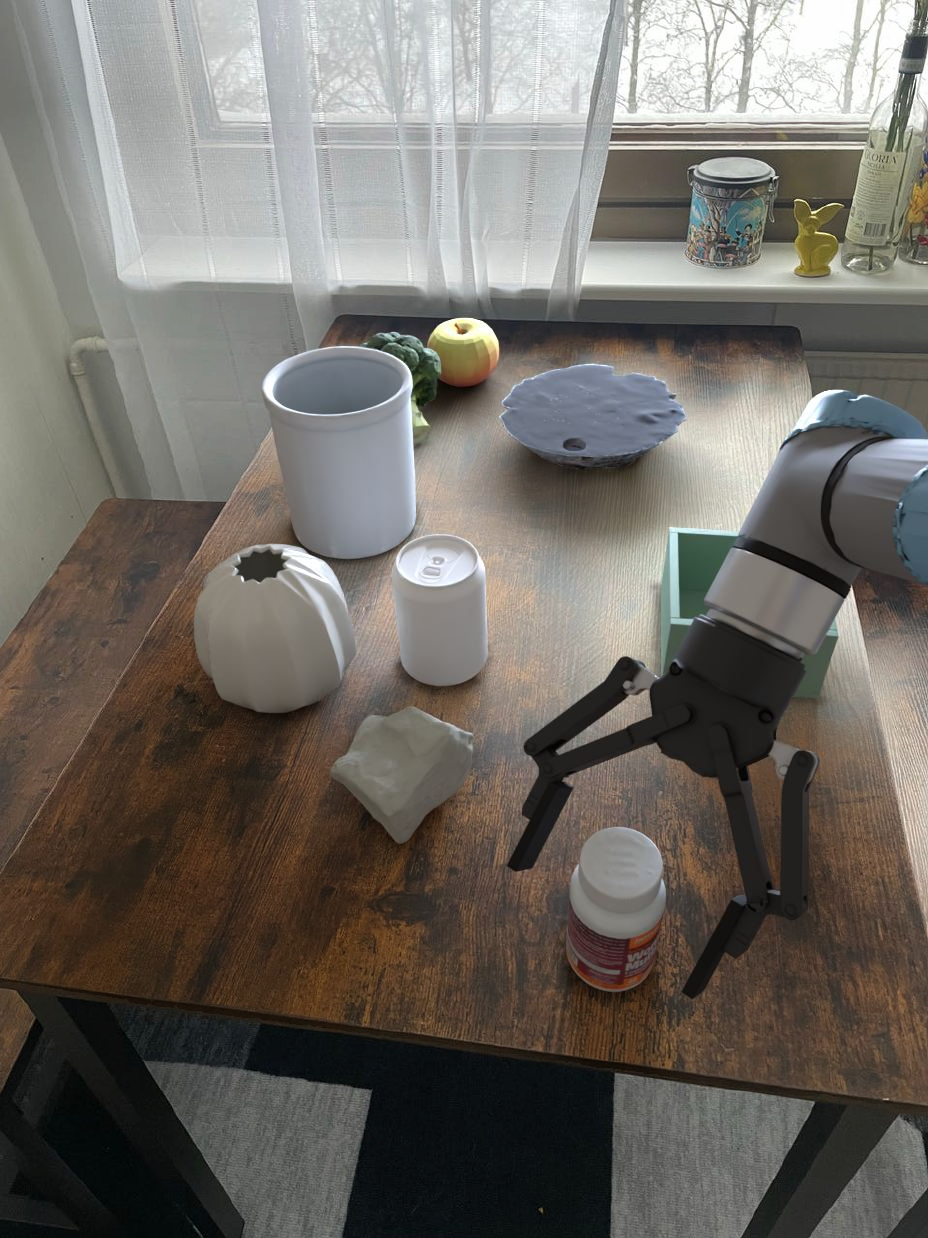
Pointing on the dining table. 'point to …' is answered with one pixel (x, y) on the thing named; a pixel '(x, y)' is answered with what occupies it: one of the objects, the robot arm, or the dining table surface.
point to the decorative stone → (405, 767)
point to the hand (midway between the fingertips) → (600, 926)
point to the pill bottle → (615, 909)
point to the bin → (687, 585)
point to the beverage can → (440, 609)
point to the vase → (273, 628)
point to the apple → (465, 351)
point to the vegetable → (413, 373)
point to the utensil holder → (345, 448)
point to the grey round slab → (591, 416)
